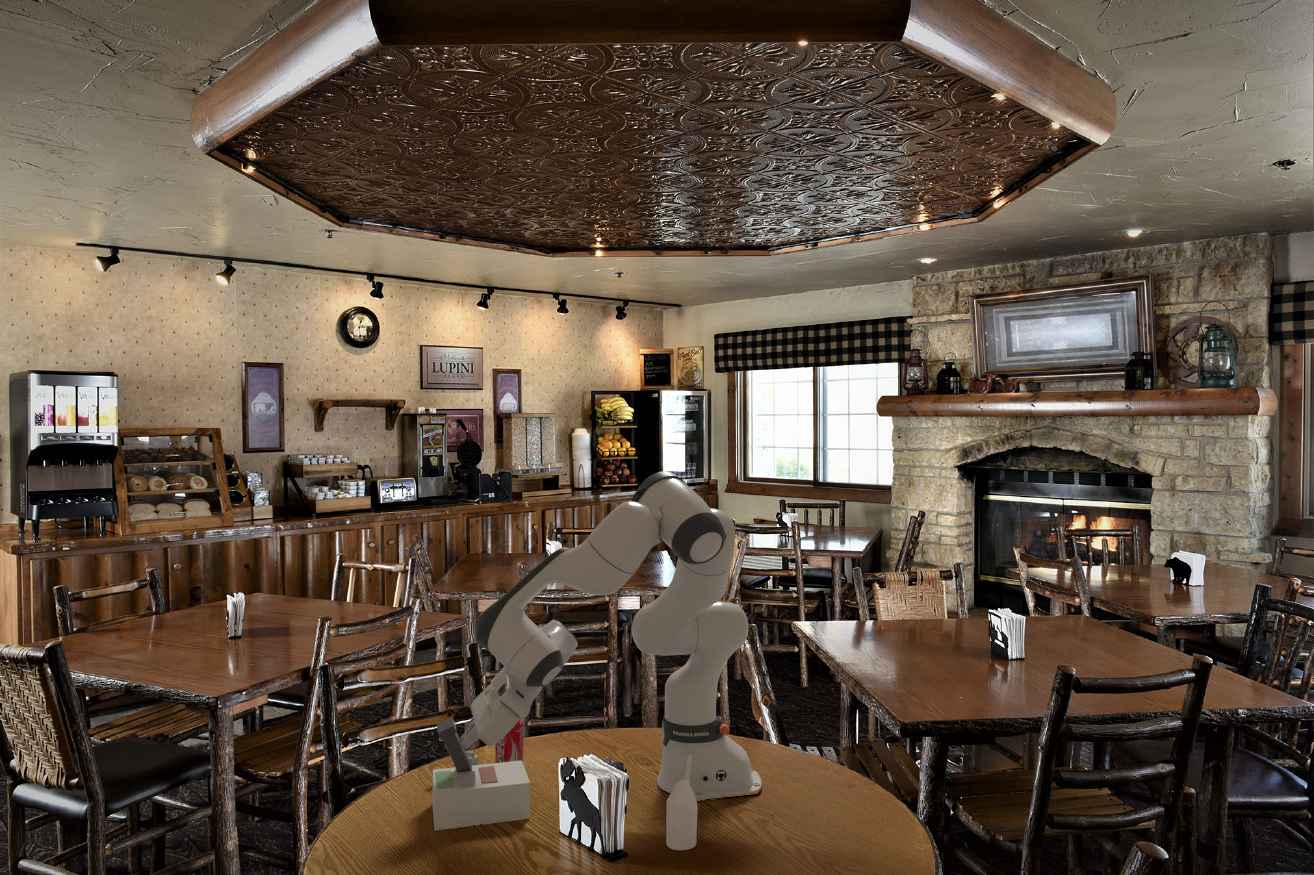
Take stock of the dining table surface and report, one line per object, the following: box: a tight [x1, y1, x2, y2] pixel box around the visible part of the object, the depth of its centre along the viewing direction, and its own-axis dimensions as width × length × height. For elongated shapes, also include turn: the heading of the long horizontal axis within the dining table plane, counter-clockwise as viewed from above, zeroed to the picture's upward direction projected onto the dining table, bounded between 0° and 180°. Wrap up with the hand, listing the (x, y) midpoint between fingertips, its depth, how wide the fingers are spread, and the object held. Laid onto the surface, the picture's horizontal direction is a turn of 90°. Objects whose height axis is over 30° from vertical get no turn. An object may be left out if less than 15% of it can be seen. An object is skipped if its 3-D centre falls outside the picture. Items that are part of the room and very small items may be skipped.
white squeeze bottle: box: [665, 779, 699, 851], centre depth 152 cm, size 6×12×6 cm
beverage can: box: [494, 717, 525, 763], centre depth 187 cm, size 6×6×12 cm
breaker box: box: [431, 756, 531, 832], centre depth 165 cm, size 18×12×9 cm, turn 107°
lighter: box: [444, 744, 479, 766], centre depth 182 cm, size 7×2×8 cm, turn 99°
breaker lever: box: [436, 716, 472, 772], centre depth 163 cm, size 3×6×11 cm, turn 17°
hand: (462, 744), depth 164 cm, fingers closed, pressing on breaker lever
